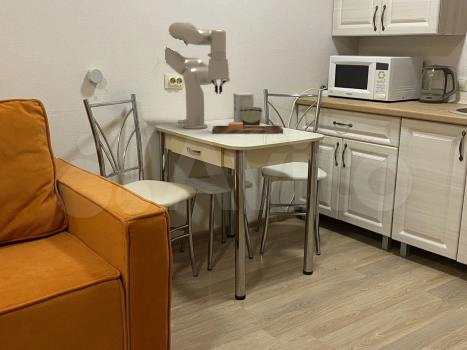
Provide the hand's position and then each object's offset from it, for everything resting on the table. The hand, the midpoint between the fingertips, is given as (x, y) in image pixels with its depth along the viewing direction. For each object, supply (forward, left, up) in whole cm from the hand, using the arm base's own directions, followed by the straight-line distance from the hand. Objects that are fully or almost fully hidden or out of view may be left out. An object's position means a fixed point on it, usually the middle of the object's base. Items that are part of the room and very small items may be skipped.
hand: (218, 93), depth 257 cm
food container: (+17, +20, -19) cm, 33 cm away
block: (+9, 0, -19) cm, 21 cm away
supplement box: (+13, +29, -19) cm, 37 cm away
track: (+15, 0, -19) cm, 24 cm away
